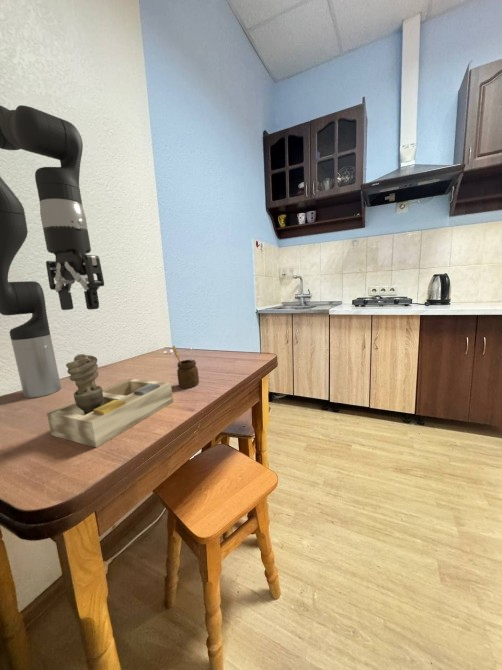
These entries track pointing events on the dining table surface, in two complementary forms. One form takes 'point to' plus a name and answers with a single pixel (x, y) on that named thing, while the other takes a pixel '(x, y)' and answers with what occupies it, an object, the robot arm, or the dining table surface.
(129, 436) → the dining table surface
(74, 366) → the light bulb
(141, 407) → the socket block
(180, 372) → the utensil holder
